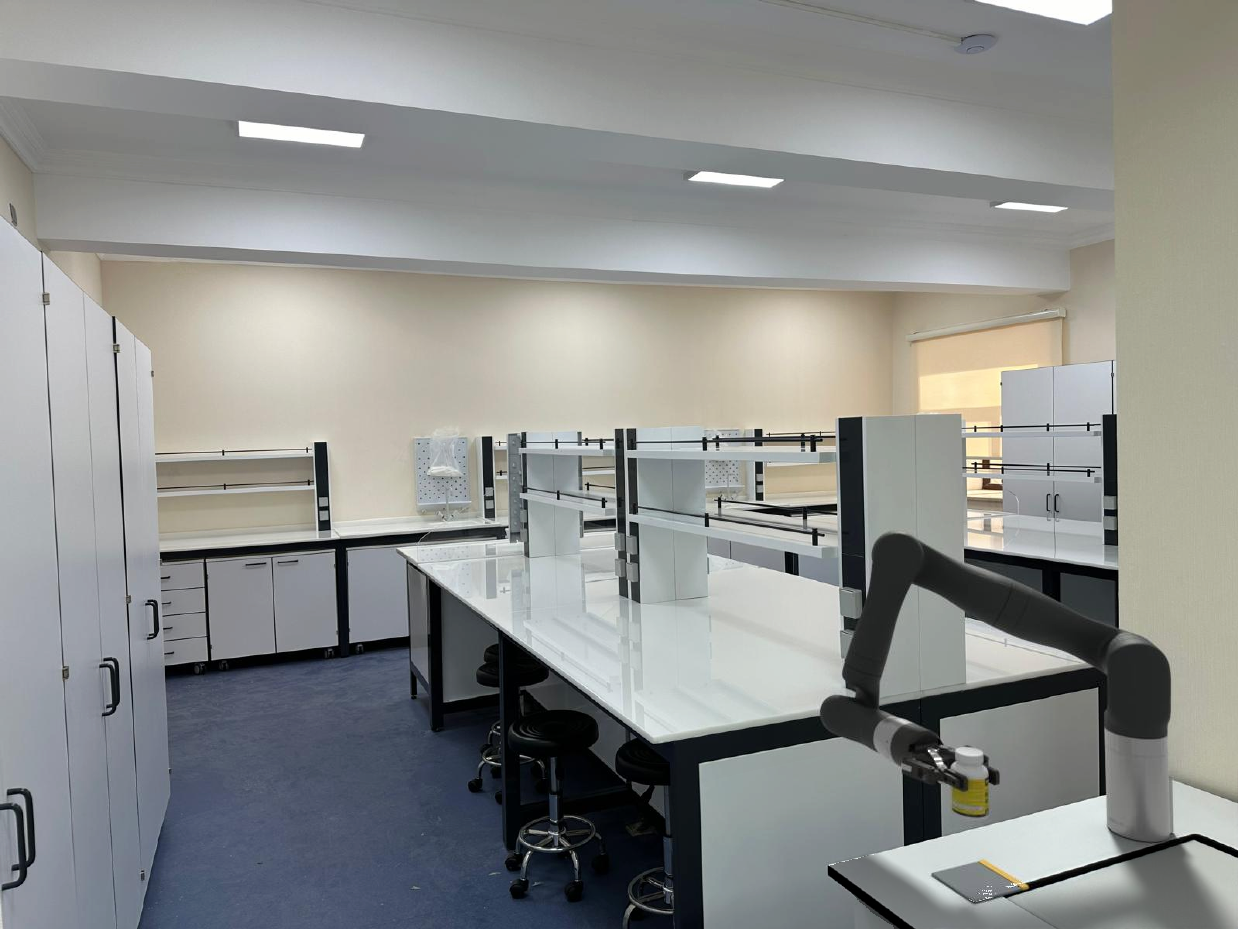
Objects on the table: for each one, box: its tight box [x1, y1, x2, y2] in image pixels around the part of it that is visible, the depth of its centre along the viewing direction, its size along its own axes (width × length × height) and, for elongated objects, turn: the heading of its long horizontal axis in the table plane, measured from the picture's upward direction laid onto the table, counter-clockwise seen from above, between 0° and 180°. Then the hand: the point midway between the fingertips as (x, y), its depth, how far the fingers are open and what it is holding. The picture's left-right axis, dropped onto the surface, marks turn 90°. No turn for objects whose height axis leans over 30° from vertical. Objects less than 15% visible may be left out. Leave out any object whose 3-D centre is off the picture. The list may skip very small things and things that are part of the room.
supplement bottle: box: [950, 746, 990, 822], centre depth 128 cm, size 5×5×10 cm
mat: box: [930, 859, 1030, 902], centre depth 128 cm, size 10×9×1 cm
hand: (981, 781), depth 125 cm, fingers closed on supplement bottle, 5 cm apart
